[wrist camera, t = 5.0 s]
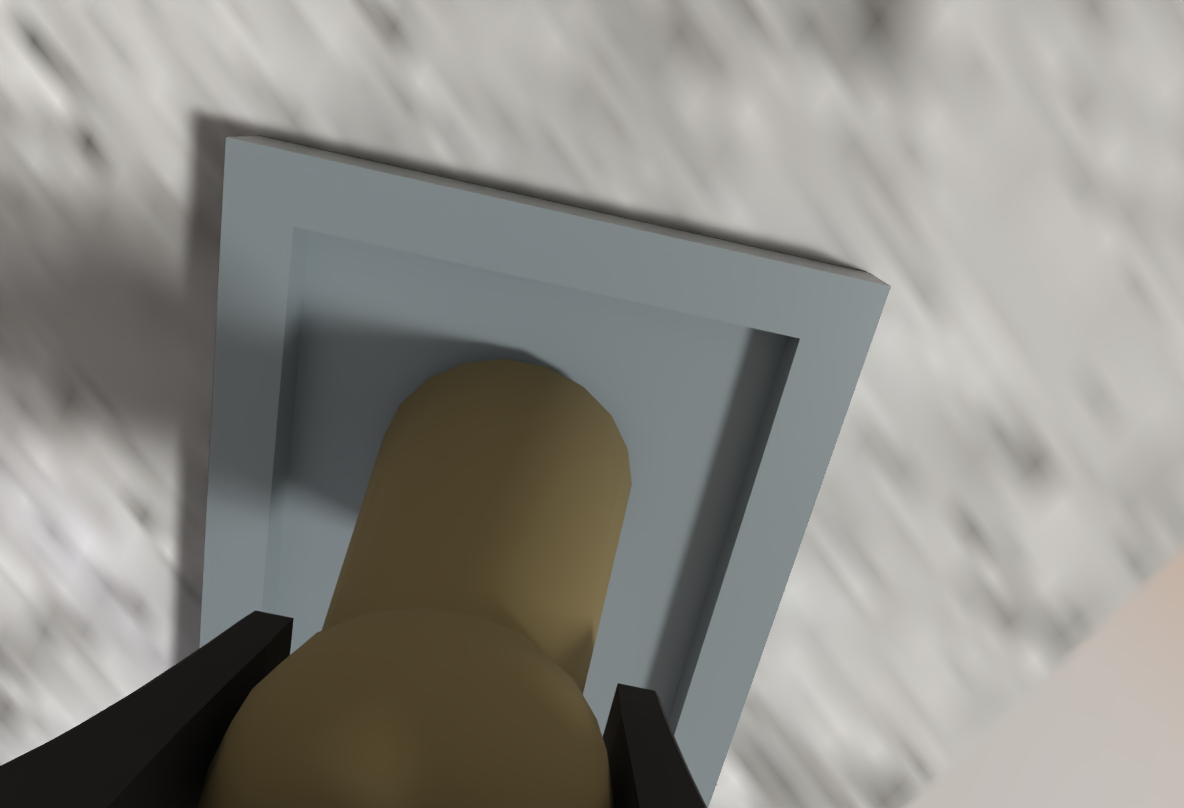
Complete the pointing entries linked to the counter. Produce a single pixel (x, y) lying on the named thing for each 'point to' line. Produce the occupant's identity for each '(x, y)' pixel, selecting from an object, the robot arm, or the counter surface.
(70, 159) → the counter surface
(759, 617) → the tray
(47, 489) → the counter surface
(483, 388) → the pepper shaker
